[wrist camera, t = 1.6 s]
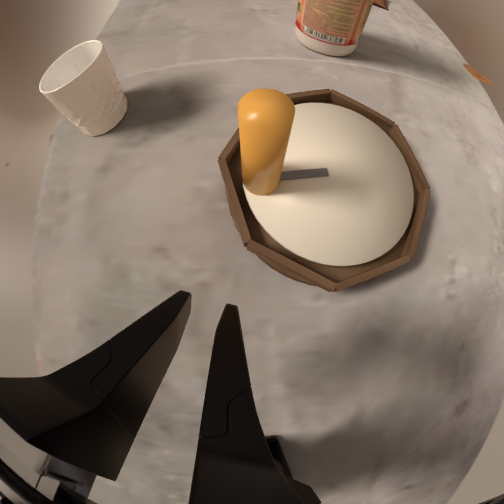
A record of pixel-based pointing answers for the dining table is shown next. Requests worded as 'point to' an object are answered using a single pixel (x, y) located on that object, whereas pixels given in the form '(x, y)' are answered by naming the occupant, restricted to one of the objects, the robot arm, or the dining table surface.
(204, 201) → the dining table surface
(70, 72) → the white cup
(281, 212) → the dial
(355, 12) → the fruit juice
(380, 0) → the sunglasses case
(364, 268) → the dial housing
